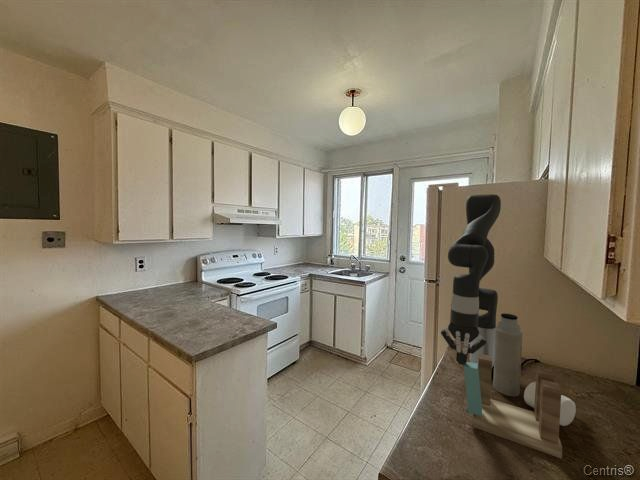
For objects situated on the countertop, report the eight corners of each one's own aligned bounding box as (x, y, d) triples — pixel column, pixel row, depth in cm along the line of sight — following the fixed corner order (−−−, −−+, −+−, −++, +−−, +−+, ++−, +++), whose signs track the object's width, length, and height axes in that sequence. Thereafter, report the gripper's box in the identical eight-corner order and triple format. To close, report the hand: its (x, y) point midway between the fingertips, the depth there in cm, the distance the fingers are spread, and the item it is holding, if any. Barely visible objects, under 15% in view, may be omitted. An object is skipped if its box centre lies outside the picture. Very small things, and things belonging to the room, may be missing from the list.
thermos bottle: (519, 388, 98) (523, 314, 97) (519, 399, 92) (523, 320, 91) (493, 380, 103) (497, 310, 102) (492, 390, 97) (495, 315, 95)
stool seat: (474, 402, 90) (476, 352, 89) (551, 427, 79) (554, 369, 78) (472, 426, 79) (475, 369, 78) (561, 458, 68) (565, 392, 68)
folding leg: (467, 406, 84) (462, 361, 84) (482, 409, 81) (477, 363, 82) (466, 412, 80) (462, 366, 81) (482, 416, 78) (477, 368, 78)
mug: (556, 428, 79) (558, 402, 78) (522, 406, 88) (524, 383, 88) (584, 421, 82) (586, 396, 82) (549, 400, 92) (550, 378, 91)
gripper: (489, 310, 81) (486, 365, 82) (442, 302, 88) (440, 352, 89) (490, 316, 75) (486, 376, 76) (439, 307, 82) (436, 362, 83)
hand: (461, 363), depth 82 cm, fingers closed
